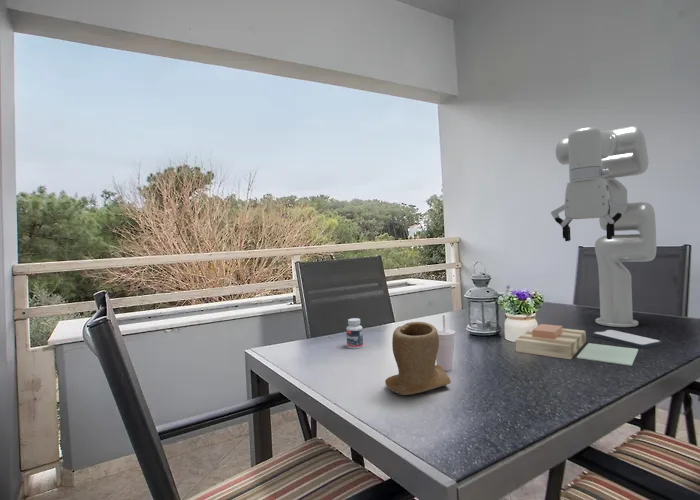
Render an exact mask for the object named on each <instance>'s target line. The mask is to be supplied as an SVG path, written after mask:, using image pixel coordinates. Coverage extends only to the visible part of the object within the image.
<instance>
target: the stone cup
mask: <svg viewBox="0 0 700 500" xmlns="http://www.w3.org/2000/svg"><path fill="white" fill-rule="evenodd" d="M437 329H438V328H437V327H435V326H434V325H433V324H431V323H428V322H425V321H410V322H407V323H405V324H403V325H401V326H397V327H396V328H395V329H394V331H393V334H392V341H391V344H392V345H391V346H392V354H393V356H394V361H395V363H396V366H397V369H398V373H397V374H395V375H394V374H393V375H391V376H388V377H387V378H386V379H385V381H384V382H385V385H386V387H387V388H388V389H389V390H390V391H392V392H394V393H397V394H399V395H402V396H409V395H416V394H420V393H425V392H428V391H431V390H435V389H438V388H441V387H444V386H446V385H450V384H451V383H452V382H451V379H450V377H449V375H448V374H447V373H446V371H444V369H443V367H441V366H439V365H437V364H436V356H437V352H438V348H439V336H438V332H437Z"/></svg>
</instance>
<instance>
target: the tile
mask: <svg viewBox="0 0 700 500" xmlns="http://www.w3.org/2000/svg"><path fill="white" fill-rule="evenodd" d="M536 326H537V327H536V328H534V327H533V328H534V329H533V330H532V337H540V338H548V339H556V338H557V337H558V336H559V335H560V334H562V333H563V329H564V328H563V325H554V324H544V323H540V324H539V325H536ZM562 328H563V329H562Z"/></svg>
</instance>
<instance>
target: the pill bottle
mask: <svg viewBox="0 0 700 500" xmlns="http://www.w3.org/2000/svg"><path fill="white" fill-rule="evenodd" d="M347 324H348V326H346V328H345V329H346V330H345V331H346V332H345V333H346V347H347V348H348V349H361V348H363V347H364V336H363V335H364V334H363V332H364V330H363V326H362V325H361V318H359V317H358V318H357V317H355V318H354V317H352V318H348V319H347Z"/></svg>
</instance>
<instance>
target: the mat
mask: <svg viewBox="0 0 700 500" xmlns="http://www.w3.org/2000/svg"><path fill="white" fill-rule="evenodd" d="M638 352H639V348H633V347H624V346H616V345H615V346H614V345H608V344H601V343H600V344H598V343H589V342H588V343H587V344H586V345H585V346H584V347H583V349H582V350H581V351H580V352H579V354H577V356H576V359H580V360H588V361H595V362H603V363H610V364H615V365H616V364H617V365H623V366H630V367H631V366H632V367H633V364H634V363H635V360H636V357H637V354H638Z"/></svg>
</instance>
